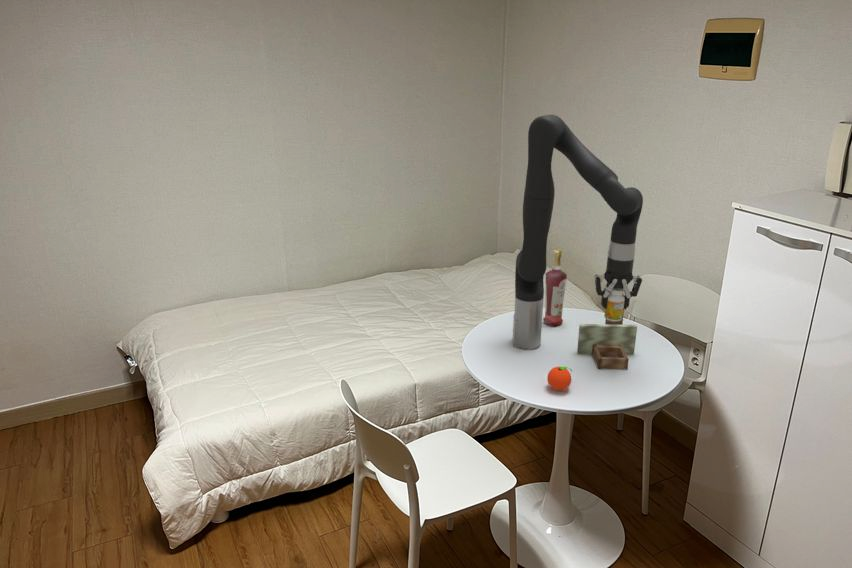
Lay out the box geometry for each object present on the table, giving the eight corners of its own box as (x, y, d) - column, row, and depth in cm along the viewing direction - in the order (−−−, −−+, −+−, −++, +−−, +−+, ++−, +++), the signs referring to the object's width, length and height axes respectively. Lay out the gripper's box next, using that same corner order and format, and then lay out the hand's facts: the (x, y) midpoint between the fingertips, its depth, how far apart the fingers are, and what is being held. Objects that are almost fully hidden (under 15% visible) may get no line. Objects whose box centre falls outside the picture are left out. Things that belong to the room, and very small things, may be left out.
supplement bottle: (601, 314, 193) (605, 285, 189) (618, 314, 193) (622, 285, 190) (607, 322, 188) (611, 292, 184) (624, 321, 188) (628, 292, 185)
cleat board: (583, 368, 193) (586, 339, 189) (577, 351, 204) (579, 324, 200) (642, 369, 192) (645, 340, 188) (632, 352, 203) (636, 324, 199)
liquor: (554, 329, 220) (559, 254, 210) (538, 322, 225) (542, 249, 215) (567, 323, 224) (573, 250, 214) (551, 317, 229) (556, 245, 219)
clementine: (563, 379, 187) (564, 359, 184) (578, 390, 181) (580, 368, 178) (541, 386, 183) (543, 365, 181) (556, 397, 177) (558, 375, 175)
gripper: (598, 259, 180) (592, 312, 186) (649, 260, 179) (641, 313, 185) (594, 251, 187) (588, 302, 193) (642, 252, 186) (635, 304, 192)
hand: (614, 307), depth 189 cm, fingers closed on supplement bottle, 5 cm apart
